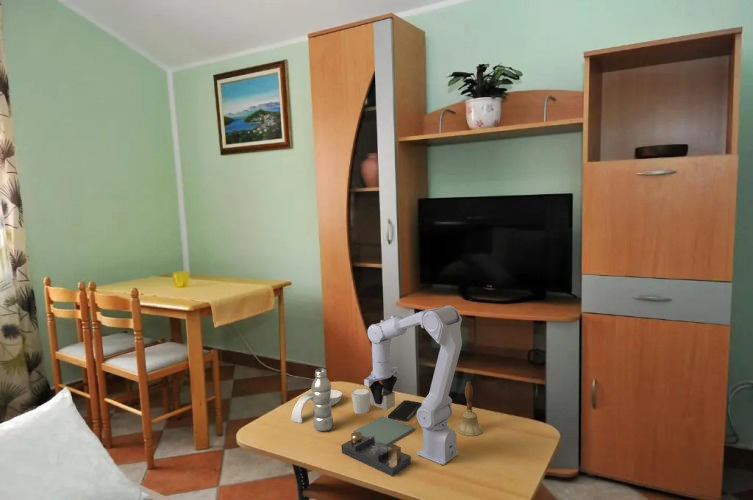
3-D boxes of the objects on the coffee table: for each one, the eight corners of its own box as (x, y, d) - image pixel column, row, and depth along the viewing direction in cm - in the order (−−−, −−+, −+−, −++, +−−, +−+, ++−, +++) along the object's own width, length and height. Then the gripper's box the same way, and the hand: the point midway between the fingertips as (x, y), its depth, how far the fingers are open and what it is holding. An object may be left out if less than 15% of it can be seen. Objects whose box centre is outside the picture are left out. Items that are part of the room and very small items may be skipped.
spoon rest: (323, 395, 193) (322, 377, 192) (348, 400, 187) (348, 382, 186) (283, 420, 172) (282, 400, 171) (310, 427, 166) (309, 406, 166)
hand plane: (411, 464, 141) (410, 444, 140) (392, 476, 135) (392, 455, 134) (360, 442, 154) (359, 424, 153) (341, 453, 148) (340, 433, 148)
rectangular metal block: (394, 405, 158) (394, 392, 158) (386, 410, 156) (386, 396, 155) (378, 400, 163) (378, 387, 163) (370, 404, 160) (370, 390, 160)
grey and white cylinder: (348, 412, 176) (347, 393, 175) (357, 405, 182) (357, 386, 181) (365, 416, 173) (364, 396, 172) (374, 408, 179) (373, 389, 178)
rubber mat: (414, 429, 161) (414, 427, 161) (386, 446, 151) (386, 444, 151) (382, 418, 171) (382, 415, 170) (353, 433, 160) (353, 430, 160)
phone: (424, 403, 180) (407, 420, 167) (424, 406, 180) (407, 423, 167) (404, 399, 183) (386, 416, 170) (404, 402, 184) (386, 419, 170)
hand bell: (456, 435, 157) (455, 386, 155) (458, 423, 165) (457, 376, 163) (482, 437, 155) (482, 388, 153) (483, 425, 163) (483, 378, 161)
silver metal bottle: (324, 435, 160) (321, 375, 157) (309, 430, 164) (306, 371, 161) (337, 427, 165) (335, 369, 162) (322, 422, 169) (320, 365, 167)
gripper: (386, 351, 166) (388, 391, 167) (356, 363, 155) (358, 405, 157) (403, 355, 161) (404, 396, 163) (373, 368, 150) (374, 411, 152)
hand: (382, 401), depth 159 cm, fingers closed on rectangular metal block, 4 cm apart
